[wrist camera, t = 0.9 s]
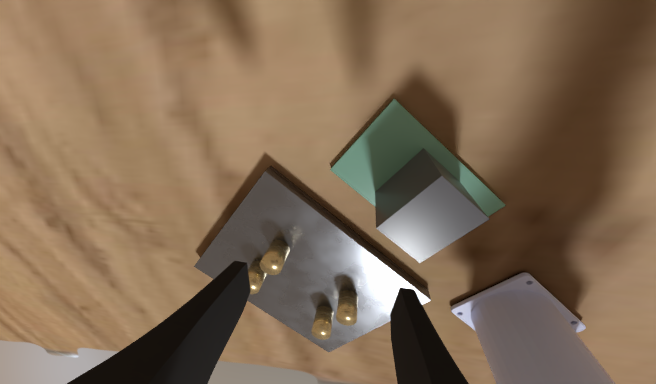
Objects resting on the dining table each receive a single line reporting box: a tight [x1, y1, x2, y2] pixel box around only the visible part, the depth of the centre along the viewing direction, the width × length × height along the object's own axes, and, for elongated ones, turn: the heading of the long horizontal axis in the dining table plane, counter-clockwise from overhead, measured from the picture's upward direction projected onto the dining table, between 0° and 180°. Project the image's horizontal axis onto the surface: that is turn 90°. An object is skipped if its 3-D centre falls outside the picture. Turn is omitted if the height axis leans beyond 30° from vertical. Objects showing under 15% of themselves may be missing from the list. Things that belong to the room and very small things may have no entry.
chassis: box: [194, 166, 431, 352], centre depth 24 cm, size 20×16×4 cm
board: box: [330, 99, 506, 263], centre depth 17 cm, size 12×7×6 cm, turn 51°
